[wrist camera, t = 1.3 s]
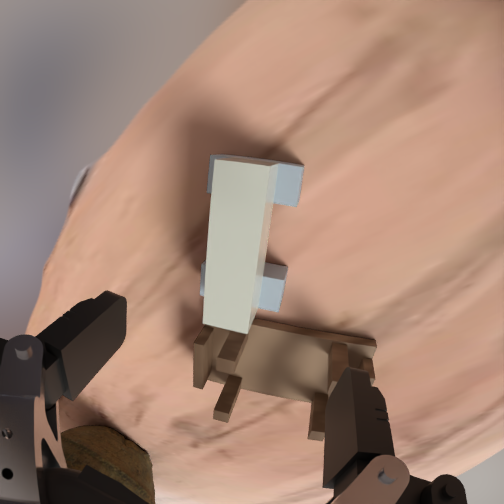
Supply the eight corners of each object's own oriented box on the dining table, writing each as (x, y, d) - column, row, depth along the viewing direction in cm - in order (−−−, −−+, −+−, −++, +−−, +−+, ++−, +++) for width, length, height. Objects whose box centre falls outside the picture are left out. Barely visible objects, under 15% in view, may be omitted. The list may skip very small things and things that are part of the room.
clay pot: (200, 486, 46) (156, 584, 23) (115, 471, 54) (70, 541, 31) (124, 401, 40) (39, 518, 17) (49, 396, 48) (-18, 468, 25)
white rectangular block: (278, 163, 22) (270, 166, 18) (258, 308, 26) (247, 334, 22) (232, 157, 22) (214, 159, 18) (218, 299, 26) (202, 323, 23)
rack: (375, 340, 28) (384, 385, 22) (349, 400, 31) (350, 445, 25) (209, 307, 30) (183, 345, 24) (206, 372, 34) (184, 411, 27)
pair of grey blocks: (304, 165, 24) (302, 167, 21) (282, 296, 28) (278, 312, 26) (222, 153, 25) (210, 154, 22) (210, 281, 29) (199, 295, 27)
